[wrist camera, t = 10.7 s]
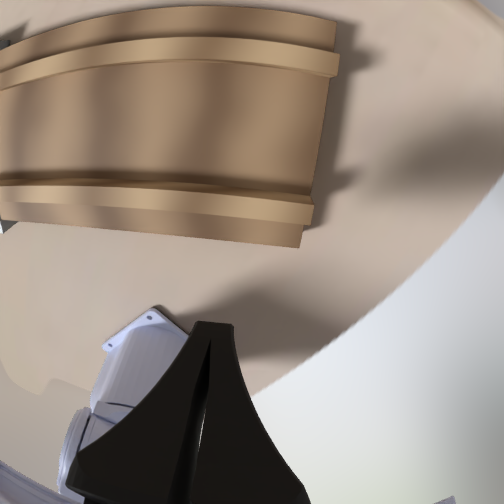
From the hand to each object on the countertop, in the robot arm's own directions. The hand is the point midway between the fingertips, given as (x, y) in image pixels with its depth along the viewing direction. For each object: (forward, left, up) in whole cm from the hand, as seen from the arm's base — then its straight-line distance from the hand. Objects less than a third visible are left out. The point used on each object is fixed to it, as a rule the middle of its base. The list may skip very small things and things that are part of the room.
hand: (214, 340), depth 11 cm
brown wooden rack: (-1, +10, -10) cm, 15 cm away
